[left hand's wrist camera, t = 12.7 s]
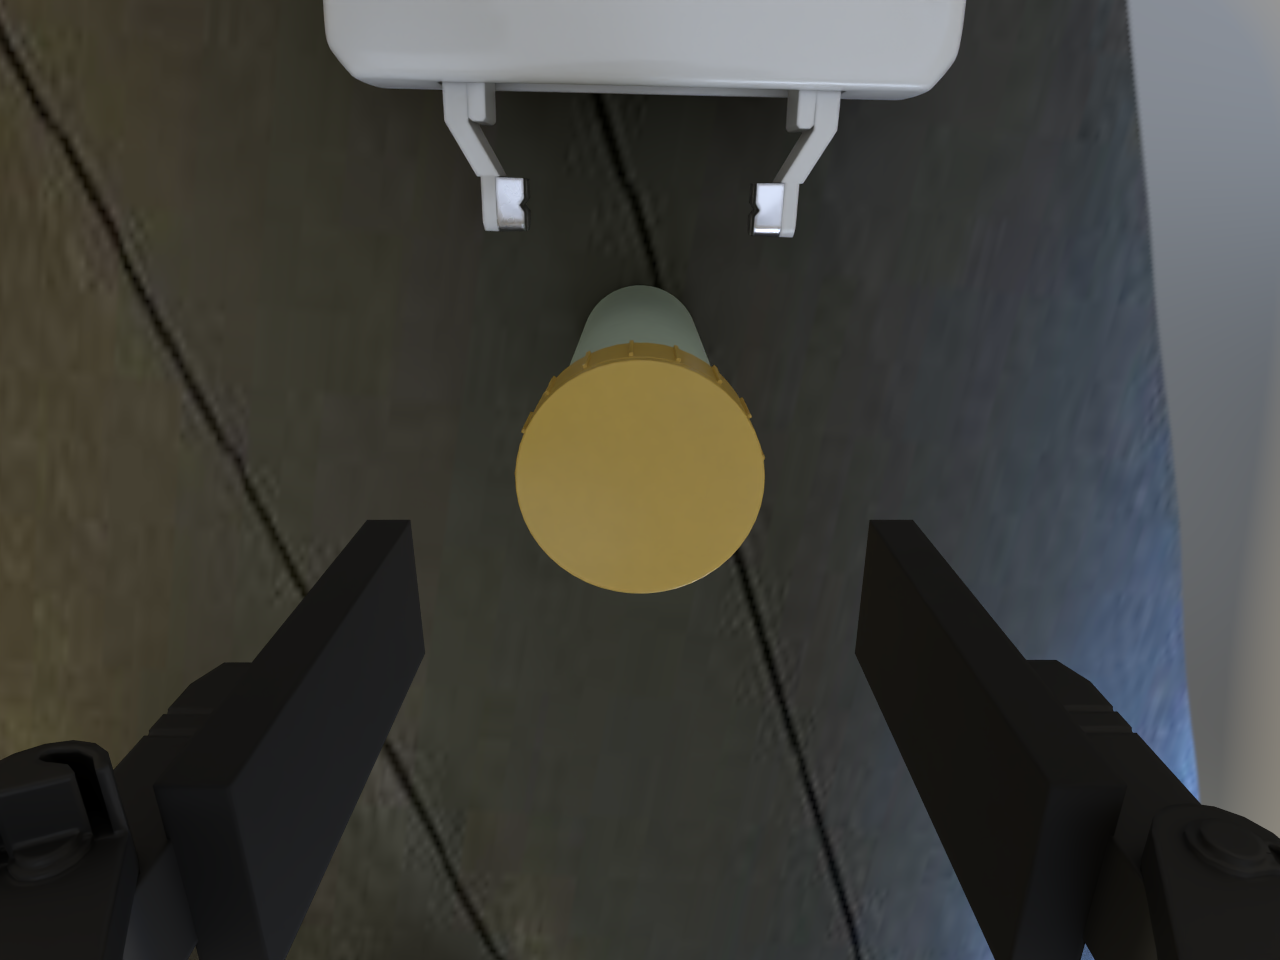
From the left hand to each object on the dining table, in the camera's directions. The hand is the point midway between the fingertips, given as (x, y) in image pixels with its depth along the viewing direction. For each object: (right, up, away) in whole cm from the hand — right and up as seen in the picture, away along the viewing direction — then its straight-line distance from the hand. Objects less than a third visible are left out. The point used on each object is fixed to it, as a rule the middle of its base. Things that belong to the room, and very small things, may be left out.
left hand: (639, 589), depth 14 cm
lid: (0, +2, +5) cm, 6 cm away
